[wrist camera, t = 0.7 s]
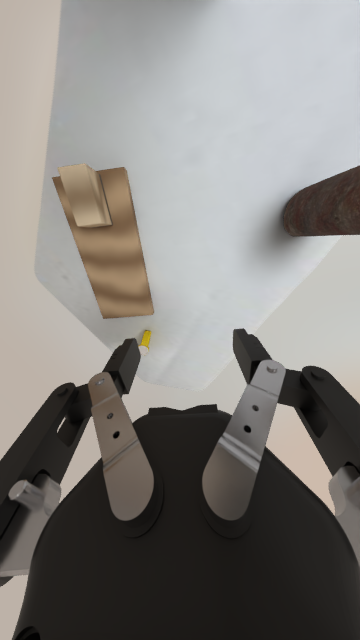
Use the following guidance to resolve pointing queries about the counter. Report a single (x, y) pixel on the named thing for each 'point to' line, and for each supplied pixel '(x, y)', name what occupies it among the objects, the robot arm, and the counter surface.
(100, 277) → the board
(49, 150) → the counter surface
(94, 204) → the block
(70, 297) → the counter surface
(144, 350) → the yellow wavy ring
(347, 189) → the rusty brown cylinder
